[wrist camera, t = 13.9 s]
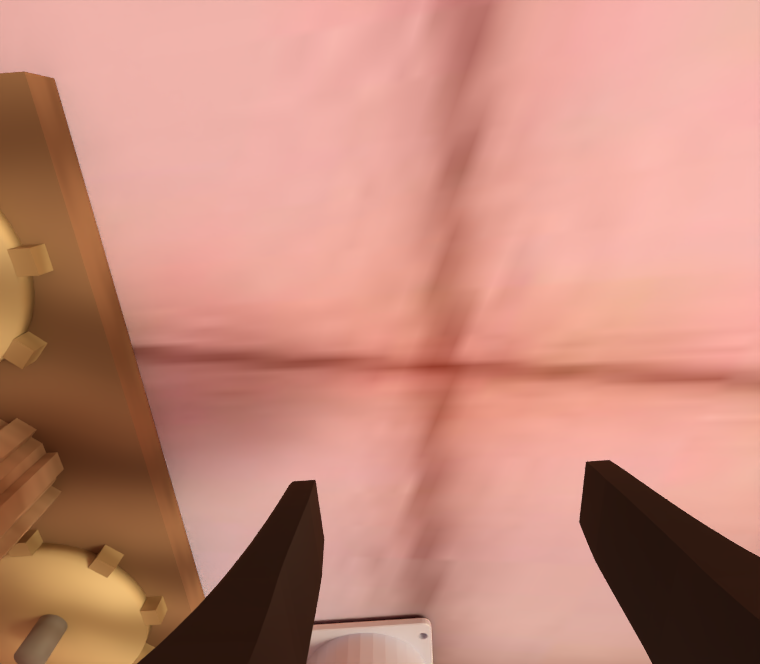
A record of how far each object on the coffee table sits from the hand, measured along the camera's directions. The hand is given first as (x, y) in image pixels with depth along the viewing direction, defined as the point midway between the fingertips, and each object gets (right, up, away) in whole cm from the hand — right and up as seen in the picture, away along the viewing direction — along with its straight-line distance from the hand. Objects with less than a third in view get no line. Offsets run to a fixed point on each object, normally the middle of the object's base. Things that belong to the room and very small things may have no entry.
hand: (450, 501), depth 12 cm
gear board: (-19, -1, +10) cm, 21 cm away
